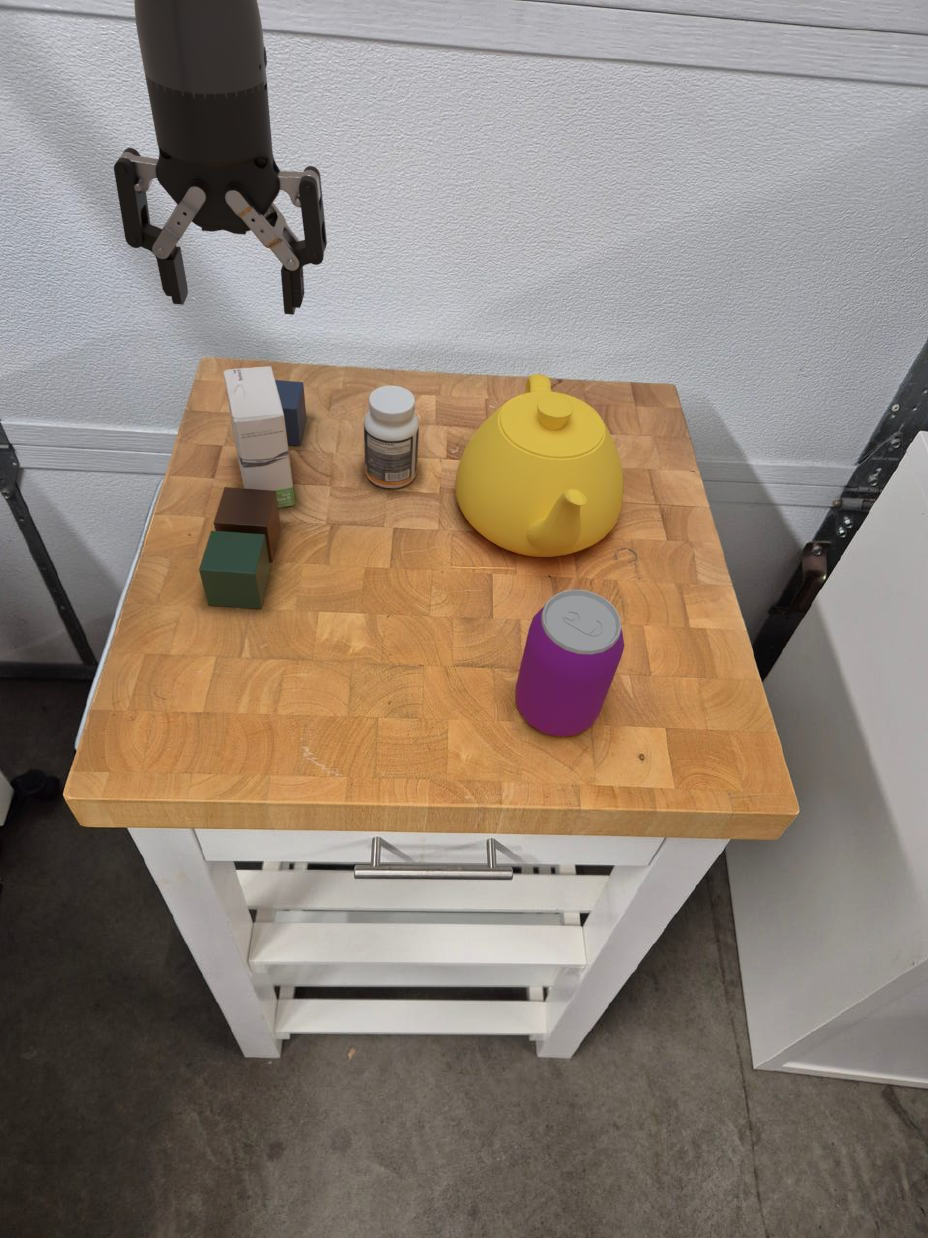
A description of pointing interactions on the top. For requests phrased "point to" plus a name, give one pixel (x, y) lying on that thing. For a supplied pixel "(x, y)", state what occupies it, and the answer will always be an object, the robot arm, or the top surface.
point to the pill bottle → (391, 437)
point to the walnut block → (250, 514)
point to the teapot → (541, 474)
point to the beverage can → (569, 662)
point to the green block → (235, 569)
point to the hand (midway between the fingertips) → (236, 304)
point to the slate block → (292, 409)
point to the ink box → (260, 431)
